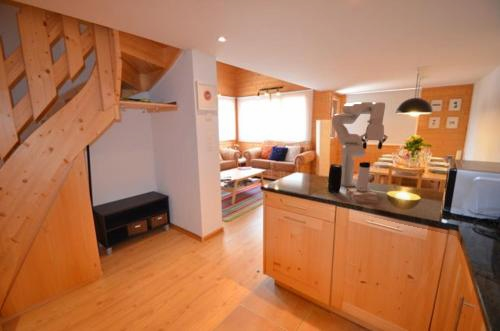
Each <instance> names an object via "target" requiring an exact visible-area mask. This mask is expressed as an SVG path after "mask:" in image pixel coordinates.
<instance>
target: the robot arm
mask: <svg viewBox="0 0 500 331" xmlns="http://www.w3.org/2000/svg"><path fill="white" fill-rule="evenodd" d="M385 109H386V103H385V102H383V101H382V102H380V101H378V102H377V101H376V102H374V101H373V102H370V101H360V102H348V103H345V104H344V105H343V106H342V109H341V110H342V112H340V113H336V114H334V115H333V116H332V119H331V120H332V121H331V124H332V127H333V129H334V130H335V132H336V136H337V138H338V142H339V144H340V145H341V146H342V147H341V150H340V153H341V154H340V155H341V162H340V165H342V178H341V186H342V187H345V188H353V187H354V186H355V183H354V181H353V180H354V173H355V172H354V171H355V170H354V169H355V161H354V159H353V158H363V157H364V156H365V155H366V149H367V146H368V145H367V144H368V141H378V144H377V149H378V150H382V148H383V144H384V143H385V142H386V141H387V139H388V137H389V136H387V135H386V134H385V125H384V124H383V122H384V116H385V111H386V110H385ZM361 115H369V119H368V120H367V121H366V122H367V126H366V129H365V132H364V133H363V134H360V135H359V134H357V133H350V132H349V129H348V128H347V127H346V126H345V125H352V124H354V123H355V122H356V121H357V119H358V118H359V117H360V116H361Z"/></svg>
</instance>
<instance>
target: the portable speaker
mask: <svg viewBox="0 0 500 331" xmlns="http://www.w3.org/2000/svg"><path fill="white" fill-rule="evenodd" d="M341 178H342V165H341V164H336V163H331V164H330V165H329V171H328V181H327V184H328V185H327V188H328V189H327V191H328V192H332V194H333V193H334V194H338V193H339V192H340V190H341Z"/></svg>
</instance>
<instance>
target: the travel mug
mask: <svg viewBox="0 0 500 331" xmlns="http://www.w3.org/2000/svg"><path fill="white" fill-rule="evenodd" d="M358 164H359V166H358V172H357V173H358V174H357V181H356V188H357V189H356V191H358V192H362V193H365V192H367V188H368V186H369V185H368V184H369V177H370V169H371V167H370V166H371V162H370V161H368V162H367V161H362V162H361V161H360V162H359V163H358Z"/></svg>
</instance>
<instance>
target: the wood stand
mask: <svg viewBox="0 0 500 331" xmlns="http://www.w3.org/2000/svg"><path fill="white" fill-rule="evenodd" d="M356 189H357V187H346V191H345V195H346V196H347V197H348V198H349V199H350V200H352V201H353V202H354V203H378V200H379V194H378V193H376V192H374V191H372V190H371V189H369V188H368V187H367V192H365V193H362V192H358V191H356Z"/></svg>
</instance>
